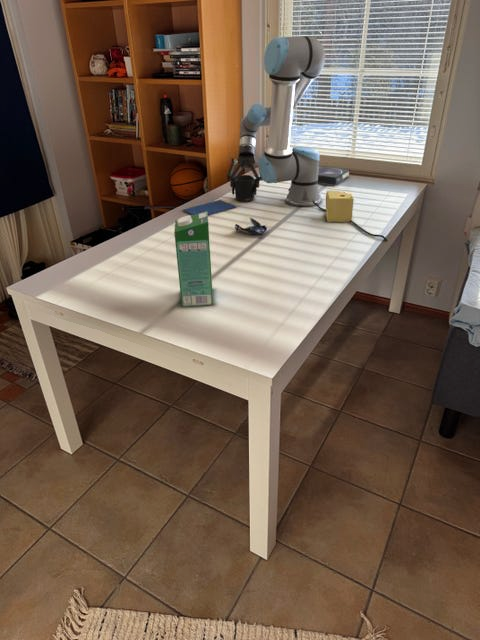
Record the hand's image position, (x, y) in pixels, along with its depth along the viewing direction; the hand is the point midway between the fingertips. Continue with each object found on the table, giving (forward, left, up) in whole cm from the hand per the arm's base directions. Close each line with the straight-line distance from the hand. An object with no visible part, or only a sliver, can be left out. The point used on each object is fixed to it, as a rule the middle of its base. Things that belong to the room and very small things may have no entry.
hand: (244, 193), depth 212 cm
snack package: (-32, +22, -4) cm, 39 cm away
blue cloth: (+2, +18, -4) cm, 18 cm away
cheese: (-43, -15, -4) cm, 46 cm away
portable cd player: (-1, -54, -4) cm, 54 cm away
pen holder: (+2, -2, -4) cm, 5 cm away
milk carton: (-61, +67, -4) cm, 90 cm away
